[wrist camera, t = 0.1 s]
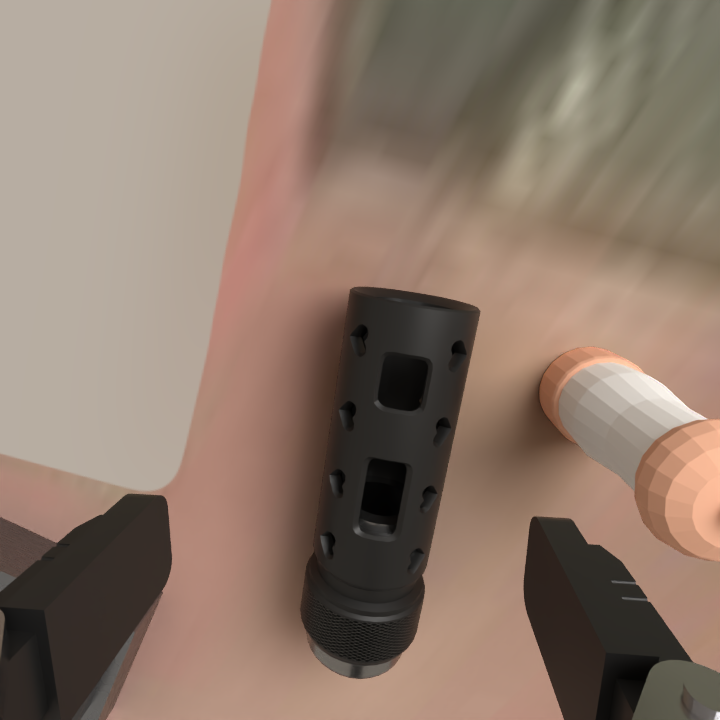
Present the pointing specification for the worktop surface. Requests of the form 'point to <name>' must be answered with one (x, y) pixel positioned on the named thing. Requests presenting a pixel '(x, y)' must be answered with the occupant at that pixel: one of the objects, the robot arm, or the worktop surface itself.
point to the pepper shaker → (642, 443)
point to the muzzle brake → (384, 474)
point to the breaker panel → (23, 548)
